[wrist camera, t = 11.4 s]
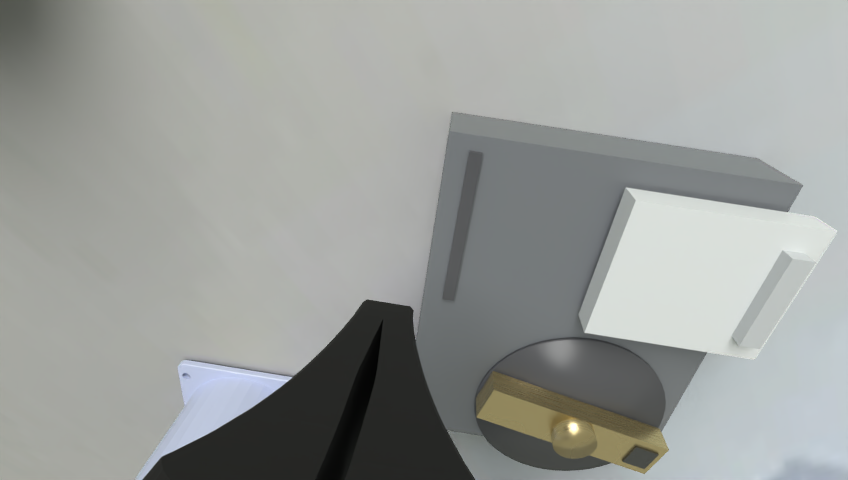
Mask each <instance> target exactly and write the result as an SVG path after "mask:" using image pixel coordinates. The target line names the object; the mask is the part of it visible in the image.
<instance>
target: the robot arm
mask: <svg viewBox="0 0 848 480" xmlns="http://www.w3.org/2000/svg"><path fill="white" fill-rule="evenodd" d="M178 373H179V378H180V383H181V389H182V394H183V400H184V405H185V407H184V408H183V410H182V411H181V412H180V414H179V415H178V417H177V418H176V420H175V421H174V423H173V424H172V426H171V427H170V429H169V430H168V431H167V433H166V434H165V436H164V437H163V439H162V440H161V442H160V443H159V445H158V446H157V447H156V449H155V450H154V452H153V453H152V455H151V456H150V458H149V459H148V461H147V462H146V463H145V465H144V466H143V468H142V469H141V471H140V472H139V474H138V475H137V477H136V478H135V479H134V480H475V479H474V477H473V476H472V474H471V472H470V471H469V469H468V468H467V466H466V464H465V463H464V461H463V459H462V458H461V456H460V454H459V452H458V450H457V449H456V447H455V445H454V443H453V441H452V439H451V438H450V436H449V434H448V432H447V430H446V428H445V426H444V424H443V422H442V420H441V417H440V415H439V413H438V411H437V408H436V406H435V404H434V401H433V399H432V396H431V393H430V391H429V388H428V385H427V382H426V379H425V376H424V373H423V369H422V366H421V362H420V358H419V354H418V350H417V346H416V341H415V335H414V327H413V309H412V308H411V307H410V306H404V305H397V304H391V303H385V302H379V301H373V300H366V301H364V302H363V303H362V304H361V306H360V307H359V309H358V310H357V312H356V313H355V314H354V316H353V317H352V318H351V319H350V321H349V322H348V323H347V324H346V325H345V327H344V328H343V329H342V330H341V331H340V332H339V333H338V334H337V335H336V337H335V338H334V339H333V340H332V341H331V342H330V343H329V344H328V345H327V346H326V347H325V348H324V349H323V350H322V351H321V352H320V353H319V354H318V355H317V356H316V357H315V358H314V359H313V360H312V361H311V362H310V363H309V364H308V365H306V366H305V367H304V368H303V369H302V370H301V371H300V372H298V373H297V374H296V375H295V376H294V377H288V376H282V375H276V374H270V373H264V372H257V371H251V370H245V369H239V368H233V367H227V366H221V365H214V364H208V363H202V362H196V361H190V360H184V361H182V362H181V363H180V364H179V366H178Z"/></svg>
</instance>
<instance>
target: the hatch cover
mask: <svg viewBox="0 0 848 480" xmlns="http://www.w3.org/2000/svg"><path fill="white" fill-rule="evenodd" d="M837 232H838V231H836V230H835V229H833V228H832V227H830V226H829V225H827V224H826V223H824V222H823V221H821V220H820V219H818V218H817V217H815V216H808V215H802V214H795V213H789V212H782V211H776V210H769V209H763V208H756V207H750V206H743V205H737V204H730V203H724V202H717V201H711V200H704V199H698V198H691V197H685V196H678V195H672V194H665V193H659V192H652V191H646V190H639V189H633V188H625V191H624V193H623V196H622V199H621V201H620V204H619V207H618V209H617V212H616V215H615V217H614V220H613V223H612V226H611V228H610V231H609V234H608V236H607V239H606V242H605V244H604V247H603V250H602V252H601V255H600V258H599V261H598V263H597V266H596V269H595V271H594V274H593V277H592V279H591V282H590V285H589V287H588V290H587V293H586V296H585V298H584V301H583V304H582V306H581V309H580V312H579V314H578V315H579V318H580V321H581V324H582V327H583V330H584V333H589V334H596V335H602V336H608V337H614V338H621V339H627V340H633V341H639V342H646V343H652V344H658V345H665V346H671V347H677V348H683V349H690V350H696V351H702V352H708V353H715V354H721V355H727V356H734V357H740V358H746V359H752V360H755V359H756V357H757V355H758V354H759V352H760V351H761V349H762V348H763V346H764V345H765V343H766V342H767V340H768V339H769V337H770V335H771V334H772V332H773V331H774V329H775V328H776V326H777V325H778V323H779V322H780V320H781V318H782V317H783V315H784V314H785V312H786V311H787V309H788V308H789V306H790V305H791V303H792V302H793V300H794V298H795V297H796V295H797V294H798V292H799V291H800V289H801V288H802V286H803V285H804V283H805V282H806V280H807V278H808V277H809V275H810V274H811V272H812V271H813V269H814V268H815V266H816V265H817V263H818V262H819V260H820V258H821V257H822V255H823V254H824V252H825V251H826V249H827V248H828V246H829V245H830V243H831V241H832V240H833V238H834V237H835V235H836V234H837Z"/></svg>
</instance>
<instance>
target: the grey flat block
mask: <svg viewBox="0 0 848 480" xmlns="http://www.w3.org/2000/svg"><path fill="white" fill-rule="evenodd" d="M802 186H803V185H802V184H800V183H799V182H797V181H795V180H794V179H792V178H790V177H788V176H787V175H785V174H783V173H782V172H780V171H778V170H777V169H775V168H773V167H772V166H770V165H768V164H766V163H765V162H763V161H761V160H760V159H758V158H751V157H745V156H738V155H732V154H725V153H718V152H712V151H705V150H699V149H692V148H686V147H679V146H672V145H666V144H659V143H653V142H646V141H640V140H633V139H626V138H620V137H613V136H607V135H600V134H594V133H587V132H580V131H574V130H567V129H561V128H554V127H548V126H541V125H534V124H528V123H521V122H515V121H508V120H502V119H495V118H488V117H482V116H475V115H469V114H462V113H456V112H452V116H451V123H450V129H449V135H448V142H447V148H446V154H445V161H444V167H443V173H442V180H441V186H440V193H439V199H438V205H437V212H436V218H435V224H434V231H433V237H432V243H431V250H430V256H429V262H428V269H427V275H426V282H425V288H424V294H423V301H422V307H421V313H420V320H419V326H418V332H417V339H416V346H417V350H418V354H419V358H420V362H421V366H422V369H423V373H424V376H425V379H426V382H427V385H428V388H429V391H430V393H431V396H432V399H433V401H434V404H435V406H436V408H437V411H438V413H439V415H440V417H441V420H442V422H443V424H444V426H445V428H446V430H451V431H457V432H463V433H469V434H475V435H482V436H484V437H485V438H486V439H487V440H488V442H489V443H490V444H491V445H492V446H494V447H495V448H496V449H497V450H498V451H500V452H501V453H503V454H504V455H506V456H508V457H510V458H511V459H513V460H516V461H518V462H520V463H523V464H526V465H529V466H533V467H537V468H542V469H549V470H562V471H570V470H583V469H590V468H595V467H600V466H603V465H606V464H610V463H611V462H608V461H605V460H602V459H599V458H596V457H593V456H590V455H589V456H586V457H583V458H578V459H570V458H565V457H562V456H560V455H559V454H557V453H556V452H555V450H554V449H553V445H552V443H551V442H548V441H545V440H542V439H539V438H536V437H533V436H530V435H527V434H524V433H521V432H518V431H515V430H512V429H509V428H506V427H503V426H500V425H497V424H494V423H492V422H489V421H486V420H483V419H480V418H477V417H476V397H477V396H478V394H479V392H480V391H481V389H482V388H483V386H484V384H485V383H486V381H487V380H488V378H489V376H490V375H491V373H492V372H493V371H495V372H498V373H501V374H503V375H506V376H509V377H512V378H515V379H518V380H521V381H524V382H526V383H529V384H532V385H535V386H538V387H541V388H544V389H547V390H550V391H552V392H555V393H558V394H561V395H564V396H567V397H570V398H573V399H575V400H578V401H581V402H584V403H587V404H590V405H593V406H596V407H598V408H601V409H604V410H607V411H610V412H613V413H616V414H619V415H621V416H624V417H627V418H630V419H633V420H636V421H639V422H642V423H645V424H647V425H650V426H653V427H656V428H659V429H660V431H661V432H662V430H663V428H664V426H665V425H666V423H667V421H668V420H669V418H670V416H671V414H672V413H673V411H674V409H675V407H676V406H677V404H678V402H679V400H680V399H681V397H682V395H683V393H684V392H685V390H686V388H687V386H688V385H689V383H690V381H691V379H692V378H693V376H694V374H695V373H696V371H697V369H698V367H699V366H700V364H701V362H702V360H703V359H704V357H705V355H706V353H707V352H702V351H696V350H690V349H683V348H677V347H671V346H665V345H658V344H652V343H646V342H639V341H633V340H627V339H621V338H614V337H608V336H602V335H596V334H589V333H584V330H583V327H582V324H581V321H580V318H579V315H578V314H579V312H580V309H581V306H582V304H583V301H584V298H585V296H586V293H587V290H588V287H589V285H590V282H591V279H592V277H593V274H594V271H595V269H596V266H597V263H598V261H599V258H600V255H601V252H602V250H603V247H604V244H605V242H606V239H607V236H608V234H609V231H610V228H611V226H612V223H613V220H614V217H615V215H616V212H617V209H618V207H619V204H620V201H621V199H622V196H623V193H624V191H625V188H633V189H639V190H646V191H652V192H659V193H665V194H672V195H678V196H685V197H691V198H698V199H704V200H711V201H717V202H724V203H730V204H737V205H743V206H750V207H756V208H763V209H769V210H776V211H782V212H788V211H789V209H790V207H791V205H792V204H793V202H794V200H795V199H796V197H797V195H798V193H799V192H800V190H801V188H802Z"/></svg>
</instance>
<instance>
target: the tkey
mask: <svg viewBox="0 0 848 480" xmlns="http://www.w3.org/2000/svg"><path fill="white" fill-rule="evenodd" d="M476 417H477V418H480V419H483V420H486V421H489V422H492V423H494V424H497V425H500V426H503V427H506V428H509V429H512V430H515V431H518V432H521V433H524V434H527V435H530V436H533V437H536V438H539V439H542V440H545V441H548V442H551V443H552V445H553V449H554V450H555V452H556V453H557V454H559V455H560V456H562V457H565V458H570V459H578V458H583V457H586V456H589V455H590V456H593V457H596V458H599V459H602V460H605V461H608V462H611V463H614V464H617V465H620V466H623V467H626V468H629V469H631V470H634V471H637V472H640V473H643V474H645V473H646V472H647V471H648V470H649V469H650V468H651V467H652V466H653V465H654V464H655V463H656V462H657V461H658V460H659V459H660V458H661V457H662V456H663V455H664V454H665V453H666V452H667V451H668V450H669V449H668V447H667V445H666V442H665V440H664V438H663V435H662V433H661V431H660V429H659V428H656V427H653V426H650V425H647V424H645V423H642V422H639V421H636V420H633V419H630V418H627V417H624V416H621V415H619V414H616V413H613V412H610V411H607V410H604V409H601V408H598V407H596V406H593V405H590V404H587V403H584V402H581V401H578V400H575V399H573V398H570V397H567V396H564V395H561V394H558V393H555V392H552V391H550V390H547V389H544V388H541V387H538V386H535V385H532V384H529V383H526V382H524V381H521V380H518V379H515V378H512V377H509V376H506V375H503V374H501V373H498V372H495V371H493V372H492V373H491V375H490V376H489V378H488V380H487V381H486V383H485V384H484V386H483V388H482V389H481V391H480V392H479V394H478V396H477V397H476Z"/></svg>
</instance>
